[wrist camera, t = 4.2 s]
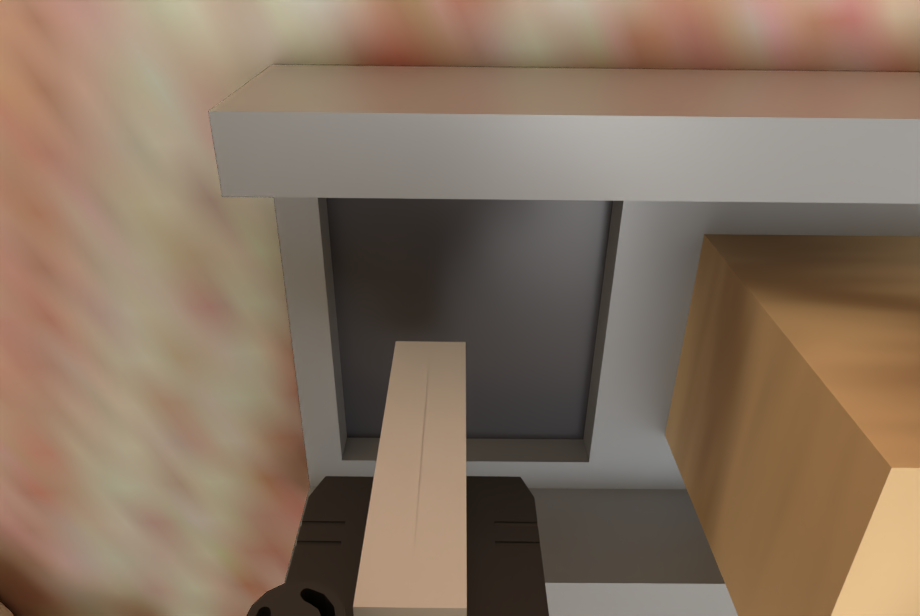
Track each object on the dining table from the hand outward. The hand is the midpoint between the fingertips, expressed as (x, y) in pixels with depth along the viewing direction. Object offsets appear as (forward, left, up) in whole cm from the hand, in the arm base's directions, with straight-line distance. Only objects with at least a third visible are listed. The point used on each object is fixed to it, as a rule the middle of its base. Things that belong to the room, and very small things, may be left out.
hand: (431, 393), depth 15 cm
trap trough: (+6, 0, -4) cm, 7 cm away
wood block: (+9, 0, -3) cm, 10 cm away
